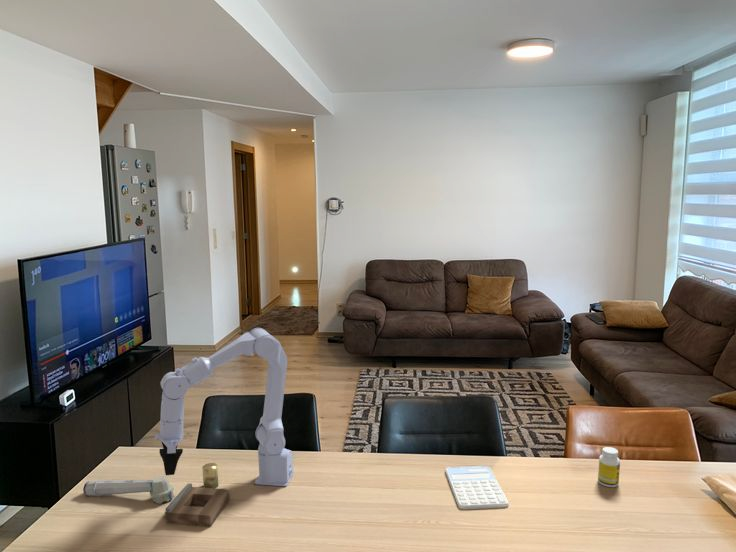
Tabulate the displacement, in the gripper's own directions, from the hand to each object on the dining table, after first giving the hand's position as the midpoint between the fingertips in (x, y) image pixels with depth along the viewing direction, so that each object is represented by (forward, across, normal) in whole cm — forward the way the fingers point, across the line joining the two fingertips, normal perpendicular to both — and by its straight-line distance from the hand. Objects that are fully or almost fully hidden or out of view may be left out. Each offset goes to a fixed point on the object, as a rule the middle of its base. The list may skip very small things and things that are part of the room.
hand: (169, 467), depth 146 cm
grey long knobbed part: (+12, -8, -10) cm, 17 cm away
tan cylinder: (+9, -5, +12) cm, 16 cm away
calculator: (+2, +23, +80) cm, 83 cm away
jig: (+10, +6, +8) cm, 14 cm away
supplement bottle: (-2, +35, +115) cm, 121 cm away
